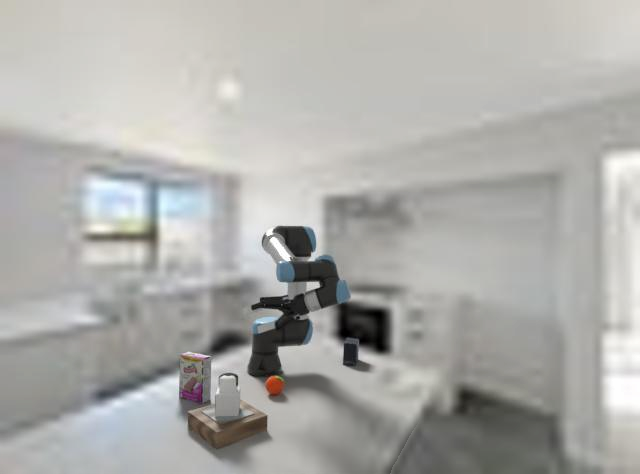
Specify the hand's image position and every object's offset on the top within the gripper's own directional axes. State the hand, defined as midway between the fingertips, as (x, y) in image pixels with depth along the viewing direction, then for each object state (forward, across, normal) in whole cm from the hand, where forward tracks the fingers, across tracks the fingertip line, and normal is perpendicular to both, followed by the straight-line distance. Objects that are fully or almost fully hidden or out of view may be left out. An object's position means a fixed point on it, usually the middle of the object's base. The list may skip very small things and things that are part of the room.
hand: (251, 321), depth 155 cm
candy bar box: (+31, +17, -14) cm, 37 cm away
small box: (-24, +70, +6) cm, 74 cm away
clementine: (+4, +30, -15) cm, 34 cm away
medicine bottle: (+12, +2, -29) cm, 31 cm away
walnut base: (+13, +5, -32) cm, 35 cm away
